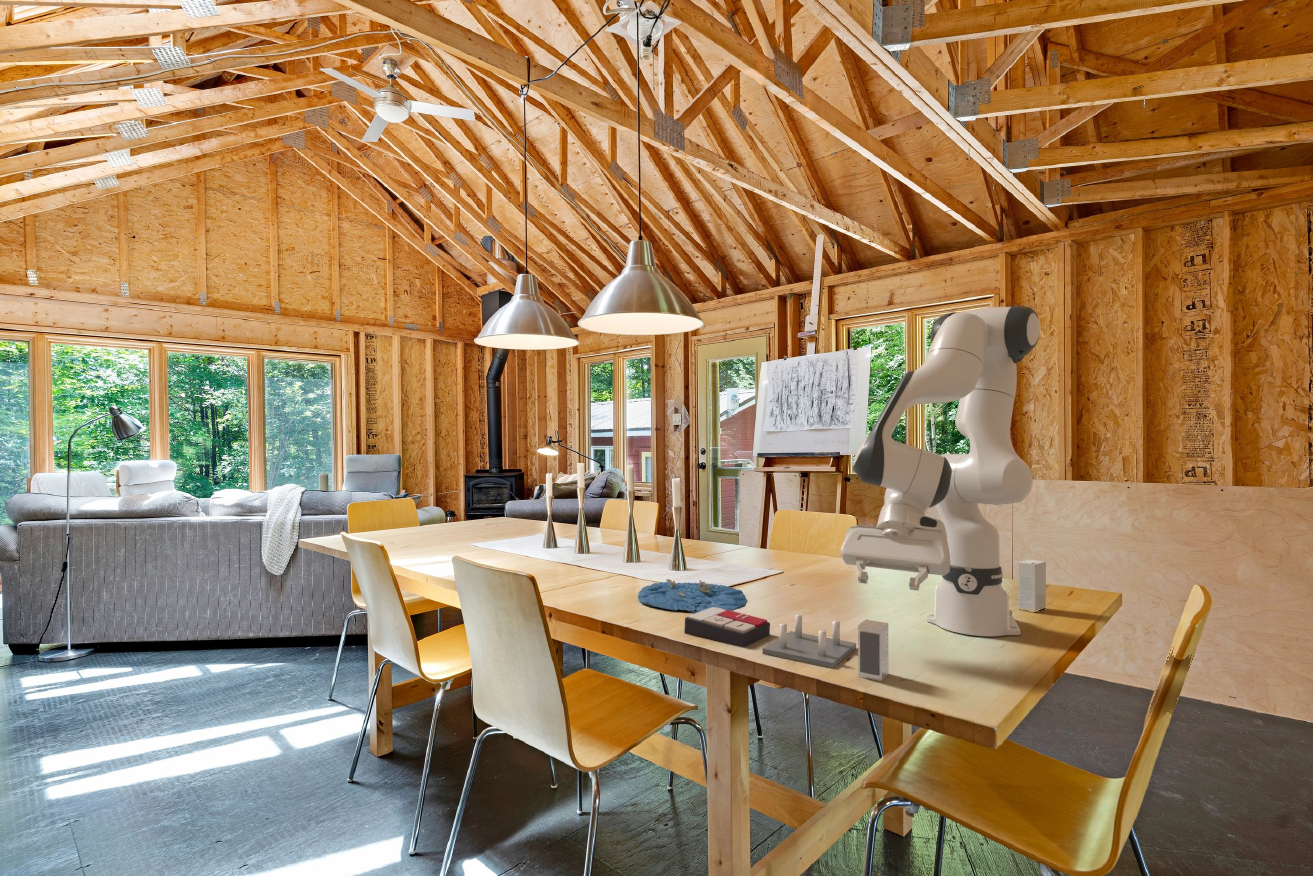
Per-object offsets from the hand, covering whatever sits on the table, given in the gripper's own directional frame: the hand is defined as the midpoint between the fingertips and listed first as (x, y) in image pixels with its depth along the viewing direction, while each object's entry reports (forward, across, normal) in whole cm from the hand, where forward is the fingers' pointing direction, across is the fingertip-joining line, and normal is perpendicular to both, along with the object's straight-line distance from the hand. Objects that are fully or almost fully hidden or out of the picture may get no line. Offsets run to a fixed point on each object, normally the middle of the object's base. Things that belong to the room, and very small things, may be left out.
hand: (887, 585), depth 117 cm
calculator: (+13, -33, +9) cm, 36 cm away
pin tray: (+12, -14, +8) cm, 20 cm away
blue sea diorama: (-4, -55, +25) cm, 60 cm away
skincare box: (-32, +20, +51) cm, 64 cm away
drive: (+17, 0, +4) cm, 17 cm away
